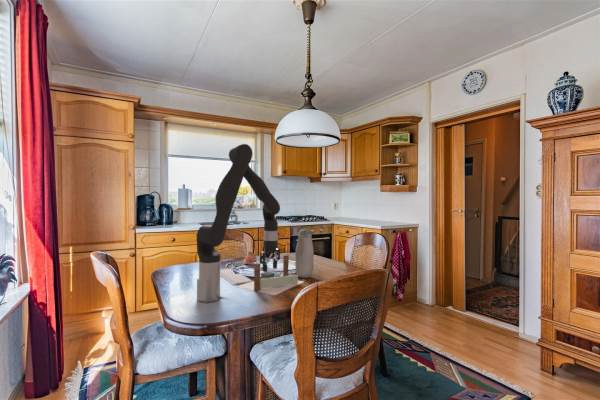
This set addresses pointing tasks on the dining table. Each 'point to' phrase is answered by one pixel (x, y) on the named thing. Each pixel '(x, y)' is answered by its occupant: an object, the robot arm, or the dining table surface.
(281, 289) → the floor mat
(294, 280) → the gate door
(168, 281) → the dining table surface
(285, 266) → the gate frame
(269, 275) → the doorstop
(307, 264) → the grey bottle
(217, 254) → the robot arm
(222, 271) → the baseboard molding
